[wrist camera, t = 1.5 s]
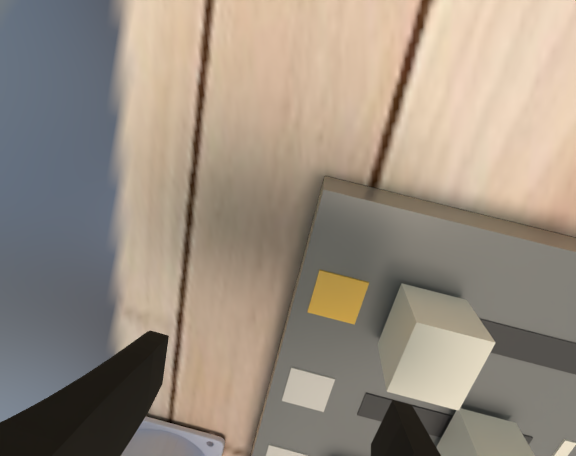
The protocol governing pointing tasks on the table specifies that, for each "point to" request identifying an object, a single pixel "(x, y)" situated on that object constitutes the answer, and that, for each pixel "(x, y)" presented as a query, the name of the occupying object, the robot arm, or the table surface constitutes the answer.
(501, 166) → the table surface
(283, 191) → the table surface
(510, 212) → the table surface
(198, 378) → the table surface
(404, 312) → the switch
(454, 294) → the switch panel
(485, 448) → the middle switch
